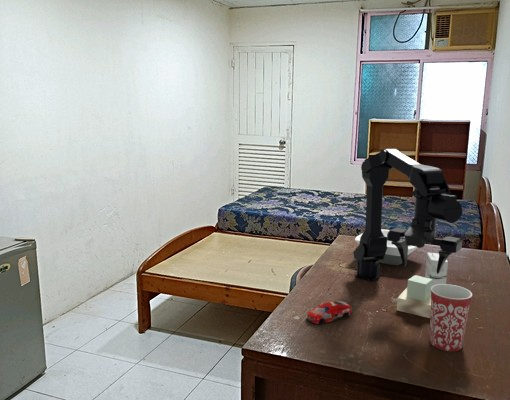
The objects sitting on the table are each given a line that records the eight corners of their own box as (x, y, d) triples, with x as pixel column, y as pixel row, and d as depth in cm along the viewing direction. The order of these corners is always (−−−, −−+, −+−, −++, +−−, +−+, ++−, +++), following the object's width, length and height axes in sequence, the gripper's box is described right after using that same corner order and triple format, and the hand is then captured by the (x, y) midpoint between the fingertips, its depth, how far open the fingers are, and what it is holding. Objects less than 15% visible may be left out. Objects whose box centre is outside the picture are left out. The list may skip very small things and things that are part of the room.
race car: (314, 327, 118) (314, 313, 117) (302, 319, 123) (303, 305, 122) (355, 317, 124) (355, 303, 123) (342, 309, 129) (343, 296, 128)
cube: (406, 296, 128) (407, 279, 127) (413, 291, 132) (414, 275, 131) (424, 301, 125) (425, 284, 124) (431, 296, 129) (432, 279, 128)
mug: (469, 356, 104) (475, 300, 102) (426, 350, 107) (431, 295, 104) (462, 331, 116) (468, 281, 113) (424, 326, 119) (428, 276, 116)
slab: (396, 311, 128) (397, 297, 128) (405, 300, 136) (406, 287, 135) (430, 319, 124) (431, 305, 123) (437, 307, 131) (438, 294, 130)
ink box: (445, 299, 136) (449, 261, 133) (428, 298, 136) (431, 260, 134) (440, 289, 144) (443, 252, 142) (423, 287, 145) (426, 251, 143)
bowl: (348, 262, 169) (350, 239, 167) (371, 247, 187) (372, 227, 186) (409, 274, 156) (411, 250, 155) (427, 257, 175) (429, 236, 173)
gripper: (380, 214, 124) (376, 269, 127) (452, 225, 112) (446, 286, 115) (396, 208, 132) (393, 260, 135) (465, 217, 121) (459, 274, 124)
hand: (421, 269), depth 127 cm, fingers open, 9 cm apart
